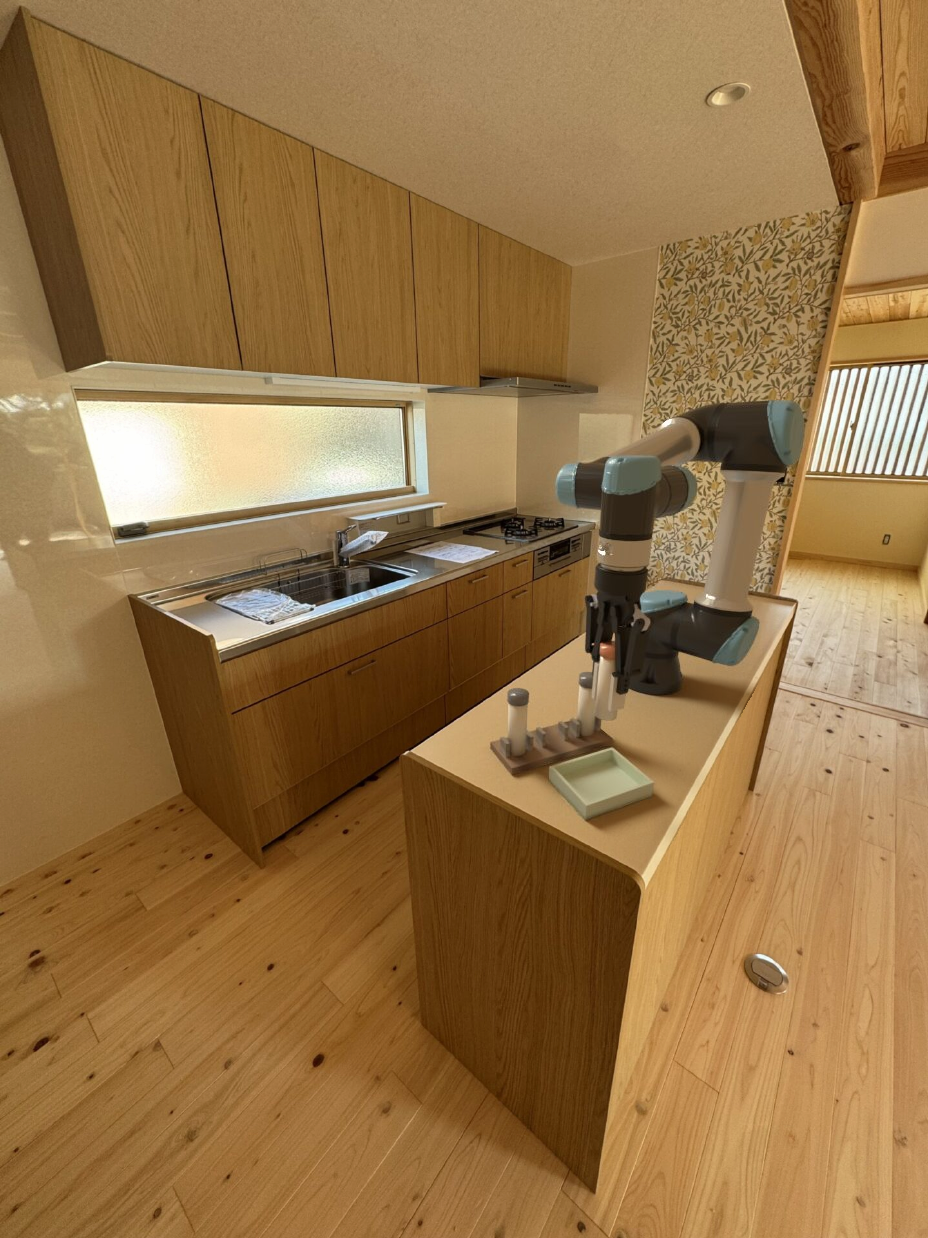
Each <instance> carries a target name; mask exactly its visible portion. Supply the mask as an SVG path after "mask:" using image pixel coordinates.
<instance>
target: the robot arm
mask: <svg viewBox="0 0 928 1238" xmlns="http://www.w3.org/2000/svg"><path fill="white" fill-rule="evenodd" d="M804 440H805V418H804V412H803V409H802V407H801V406H800V404H799V403H798V402H796V401H793V400H780V399H779V400H778V399H777V400H775V399H770V400H754V401H753V400H752V401H739V402H718V403H717V402H716V403H710V404H707V405H703V406H699V407H697V408H693V409H690V410H688V411H685V412H683V413H681V414H678V415H676V416H673V417H671V418H670V419H667V420H666V421H664V422H663V423H662V424H661V425H659V427H658V428H657V430H656V431H654V432H651V433H650V434H647V435H646V436H644V437H642V438H639V439H637V440H635V441H632V442H631V443H629V444H627V445H625V446H622V447H621V448H618V449H617V450H613V452H610V453H608V454H606V455H604V456H602V457H600V458H597V459H595V460H592V461H590V462H587V463H586V462H580V461H578V462H571V463H566V464H564V465H563V466H562V467H561V469H559V471H558V473H557V475H556V479H555V486H554V487H555V495H556V498H557V500H558V502H559V503H560V504H562V505H563V506H566V507H573V508H576V509H579V510H580V509H585V510H595V511H596V510H597V511H600V515H599V516H600V517H599V529H598V541H597V550H596V551H597V553H596V561H597V562H598V564H597V565H595V571H594V581H593V582H594V583H593V585H594V588H595V589H596V590H597V592H596V593H594V594H587V595H585V597H584V601H585V607H586V614H585V615H586V620H585V640H584V641H585V642H584V651H585V653H587V654H590V656H591V657H590V659H591V660H592V661H593V662H592V671H591V672H592V676H593V686H592V697H591V698H593V699H596V694H597V684H598V674H599V664H600V654H599V652H600V643H601V642H605V641H613V638H614V641H615V670H616V672H613V673H611V682H610V691H609V701H608V710H609V711H610V712H612V711H615V710H622V709H625V702H626V696H627V695H626V694H628V693H629V690H630V689H631V690H632V691H635V692H639V693H643V694H647V695H656V696H657V695H660V696H661V695H671V694H674V693H677V692H678V691H680V689H681V688H682V684H683V677H684V676H683V673H682V671H681V664H680V663H681V662H680V659H679V653H683V654H685V655H689V656H693V657H695V658H699V659H702V660H705V661H708V662H711V663H713V664H719V665H723V666H728V667H735V666H737V665H739V664H740V663H741V662H742V661H744V659H745V658H746V656H747V655H748V653H749V652H750V650H751V648H752V646H753V644H754V642H755V640H756V638H757V635H758V632H759V628H760V623H761V622H760V619H759V618H757V617H756V616H753V612H754V611H753V610H754V606H753V605H752V603H751V602H750V601H749V598H748V596H749V591H750V587H751V582H752V579H753V575H754V571H755V567H756V561H757V557H758V553H759V549H760V544H761V540H762V536H763V531H764V526H765V522H766V518H767V514H768V508H769V505H770V500H771V497H772V492H773V489H774V485H775V483H776V482H777V481H778V480H780V479H781V478H782V477H784V476H785V474H786V471H787V466H788V467H789V466H791V467H792V466H793V465H796V464H797V462H799V460H800V456H801V454H802V452H803V447H804ZM689 462H691V463H693V462H705V463H720V468H719V472H720V474H721V475H722V477H723V478H724V480H725V485H724V490H723V495H722V499H721V505H720V509H719V512H718V513H719V514H718V519H717V524H716V528H715V529H716V530H715V534H714V538H713V543H712V549H711V554H710V558H709V563H708V568H707V573H706V579H705V584H704V587H703V591H702V592H701V593H700V594H698V595H697V596H696V597H695V598H694V601H693V603H691V602H688V600H689V598H688V595H687V593H684V592H682V591H679V590H677V591H676V590H669V589H668V590H667V589H666V590H665V589H663V590H662V589H659V590H657V589H656V590H650V591H646V590H647V582H648V575H649V569H648V568H647V566H648V565H649V564H650V559H651V551H652V550H651V549H652V541H653V532H654V526H655V520H656V519H660V518H664V517H665V518H666V517H672V516H676V515H678V514H679V513H681V512H683V511H685V510H687V509H688V508H689V507H690V506H691V505H692V504H693V502H694V501H695V499H696V497H697V493H698V482H697V478H696V477H695V475H694V473H693V472H692V471H691V470H690V469H688V468H687V467H684V466H682V465H684V464H687V463H689ZM645 591H646V592H645Z"/></svg>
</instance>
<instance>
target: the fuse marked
mask: <svg viewBox="0 0 928 1238" xmlns="http://www.w3.org/2000/svg"><path fill="white" fill-rule="evenodd" d="M599 654H600V664H599V674H598V684H597V694H596V703H595V713H594V714H595V716H596V717H597V718H599V719H601V721H606V722H607V721H615V720H616V719H617V716H618V710H615V711H612V712H610V711H609V710H608V701H609V691H610V682H611V673H613V672H616V670H615V640H612V641H605V642H601V643H600V652H599Z"/></svg>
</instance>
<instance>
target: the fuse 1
mask: <svg viewBox="0 0 928 1238" xmlns="http://www.w3.org/2000/svg"><path fill="white" fill-rule="evenodd" d="M506 699H507V701H506V702H507V706H508V707H507V709H508V712H507V738H508V742H509V743H510V754H511V755H514V756H521V755H523V754H525V752H526V736H527V730H528V729H527V728H528V708H529V707H528V706H529V705H528V704H529V703H530V692H529V691H528V690H527V689H526V688H522V687H515V688H514V687H513V688H511V689H509V690H508V691H507V698H506Z"/></svg>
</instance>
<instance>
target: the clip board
mask: <svg viewBox="0 0 928 1238" xmlns="http://www.w3.org/2000/svg"><path fill="white" fill-rule="evenodd" d="M601 727H602V720H601V719H599V718H597V717H596V716H595V725H594V733H593V734H592V735H590V736H583V735H580V723H579V722H578V721H577V718H575V717H571V718H570V719H569V720H568V721H563V720H562V721H558V723H556V724H553V725H549V726H545V727H542V728H541V727H536V728H535V729H534V730H530V731H529V730H528V729H527V736H526V752H525V754H523V755H521V756H514V755H511V754H510V743H509V742H508V737H505V736H501V737H499V738H500V739H497V740H494V741H490V742H489V744H490V747H489V748H490V750H491V751H492V752H493V754H494V755H495V756H496V757H497V759H498V760H499V761H500V763H502V766H504V767H505V769H506V770H507V771H508V772H509V774H510V775H511V776H513V775H517V774H519V773H522V772H523V773H524V772H526V771H529V770H533V769H536V768H539V767H543V766H546V765H550V764H553V763H556V762H560V761H562V760H567V759H570V758H573V757H576V756H579V755H583V754H585V753H589V752H591V751H592V752H593V751H596V750H600V749H602V748H603V749H604V748H606V747H609V746H612V745H613V742H614V741H613V740H614V739H613V737H611V735H609V734H608V733H607V732H606V731H604V729H602V728H601Z"/></svg>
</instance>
